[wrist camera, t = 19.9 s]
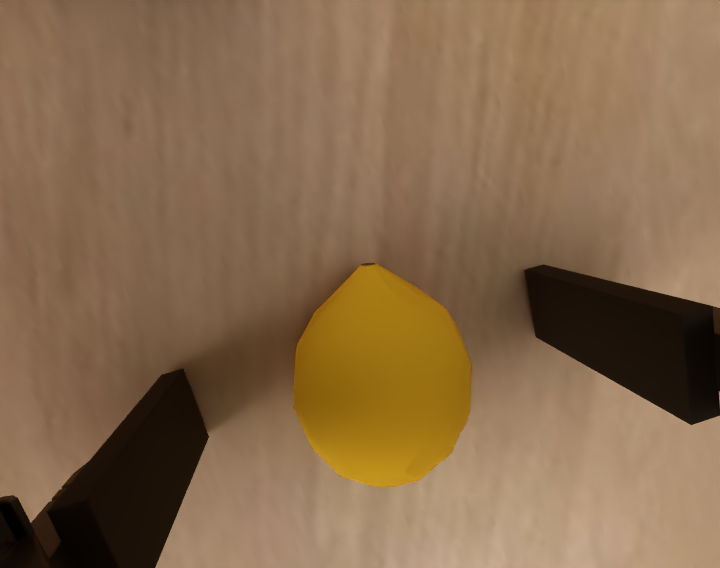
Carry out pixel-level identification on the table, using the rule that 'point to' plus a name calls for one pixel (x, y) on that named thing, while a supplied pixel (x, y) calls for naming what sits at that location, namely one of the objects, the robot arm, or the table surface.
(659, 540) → the table surface
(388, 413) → the lemon
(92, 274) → the table surface
